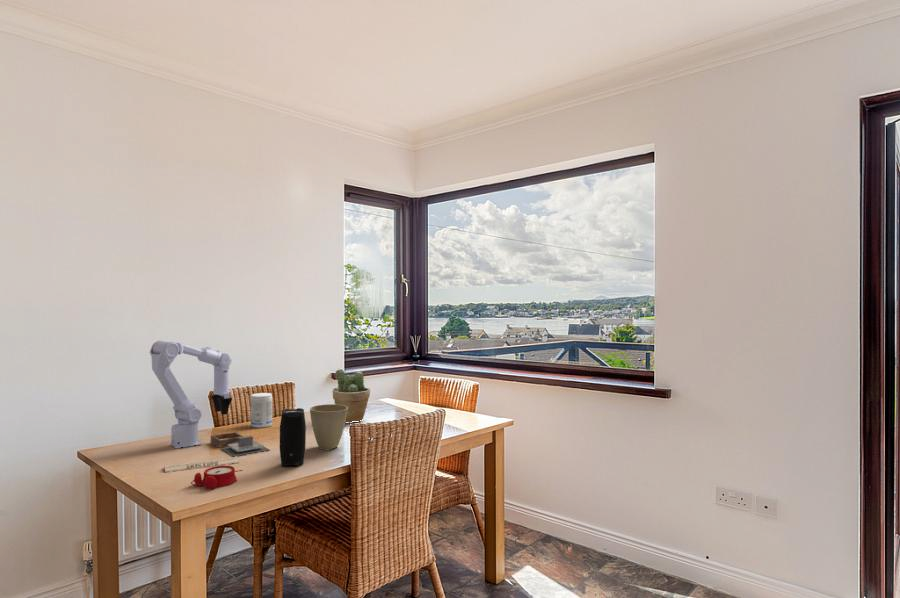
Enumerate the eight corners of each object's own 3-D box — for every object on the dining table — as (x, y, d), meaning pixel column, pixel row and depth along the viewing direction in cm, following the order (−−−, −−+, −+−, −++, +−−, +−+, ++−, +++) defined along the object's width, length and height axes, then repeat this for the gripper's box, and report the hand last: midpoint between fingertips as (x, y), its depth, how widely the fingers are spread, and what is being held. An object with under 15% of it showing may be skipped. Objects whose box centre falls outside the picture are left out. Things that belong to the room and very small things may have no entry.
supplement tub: (267, 422, 260) (268, 392, 260) (275, 426, 253) (275, 394, 253) (247, 425, 254) (247, 394, 254) (254, 429, 246) (255, 396, 246)
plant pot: (304, 452, 210) (305, 411, 210) (315, 442, 225) (315, 403, 225) (342, 453, 210) (343, 411, 210) (350, 443, 224) (351, 404, 225)
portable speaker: (298, 469, 189) (298, 413, 189) (274, 466, 191) (274, 411, 191) (309, 461, 198) (310, 408, 198) (286, 459, 200) (287, 406, 200)
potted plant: (371, 416, 275) (372, 367, 275) (368, 425, 257) (368, 372, 257) (335, 416, 274) (335, 367, 274) (329, 425, 256) (329, 372, 256)
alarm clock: (246, 468, 178) (207, 470, 165) (242, 488, 177) (203, 491, 164) (225, 463, 183) (186, 465, 170) (221, 483, 182) (181, 485, 169)
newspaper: (236, 460, 200) (236, 455, 200) (239, 465, 194) (239, 460, 194) (164, 469, 189) (164, 464, 189) (165, 475, 183) (165, 470, 183)
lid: (236, 454, 205) (237, 442, 205) (227, 448, 213) (227, 436, 213) (263, 449, 212) (263, 437, 212) (253, 444, 220) (253, 432, 220)
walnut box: (219, 448, 214) (219, 440, 214) (210, 443, 222) (211, 435, 222) (244, 443, 221) (244, 436, 221) (235, 439, 229) (235, 432, 229)
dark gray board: (233, 457, 202) (233, 456, 202) (220, 449, 213) (220, 448, 213) (269, 450, 212) (269, 449, 212) (256, 443, 222) (256, 442, 222)
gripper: (236, 382, 229) (236, 414, 229) (225, 378, 239) (225, 408, 240) (219, 384, 224) (219, 416, 224) (208, 379, 235) (208, 411, 235)
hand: (221, 412), depth 232 cm, fingers open, 7 cm apart
